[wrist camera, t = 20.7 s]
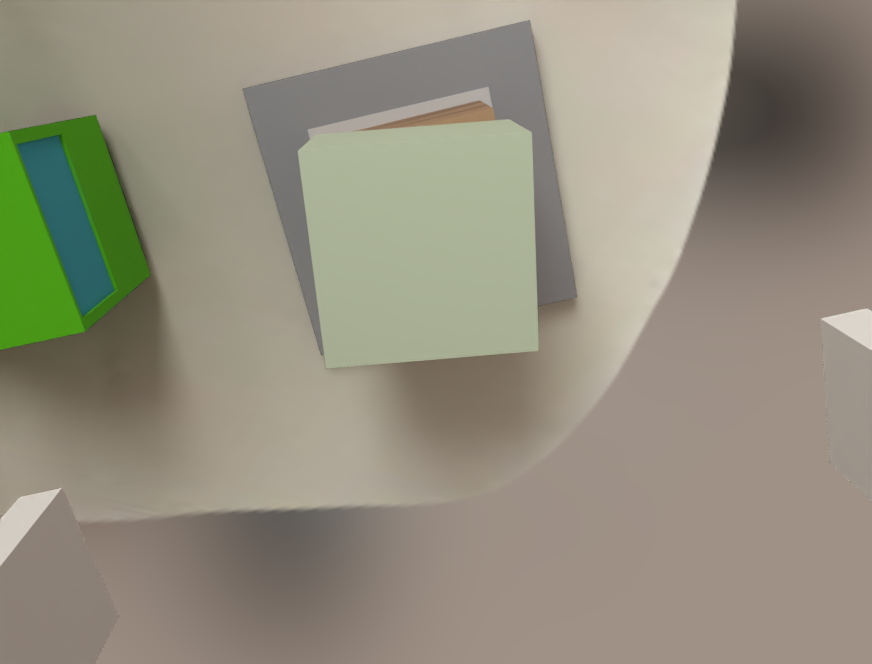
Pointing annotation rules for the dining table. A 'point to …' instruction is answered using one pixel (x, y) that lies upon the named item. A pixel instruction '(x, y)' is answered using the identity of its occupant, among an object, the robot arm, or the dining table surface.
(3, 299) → the toy car
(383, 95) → the plate
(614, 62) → the dining table surface
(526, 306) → the green block
